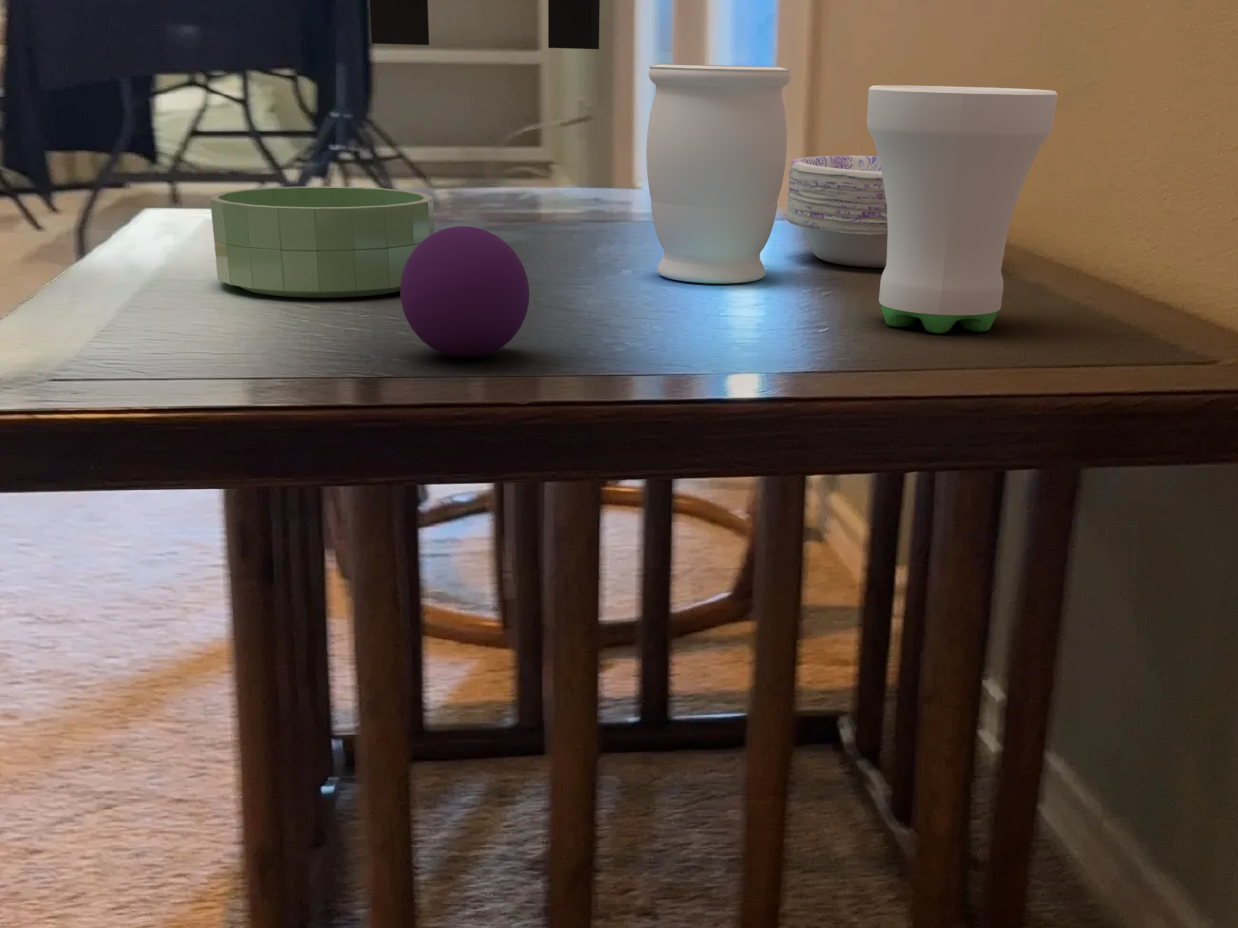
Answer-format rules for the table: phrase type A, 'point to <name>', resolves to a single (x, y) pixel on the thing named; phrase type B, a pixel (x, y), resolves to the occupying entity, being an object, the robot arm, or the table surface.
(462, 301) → the ball
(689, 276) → the jar
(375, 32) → the robot arm
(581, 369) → the table surface
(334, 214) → the bowl
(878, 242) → the paper bowls
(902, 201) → the cup
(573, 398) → the table surface
